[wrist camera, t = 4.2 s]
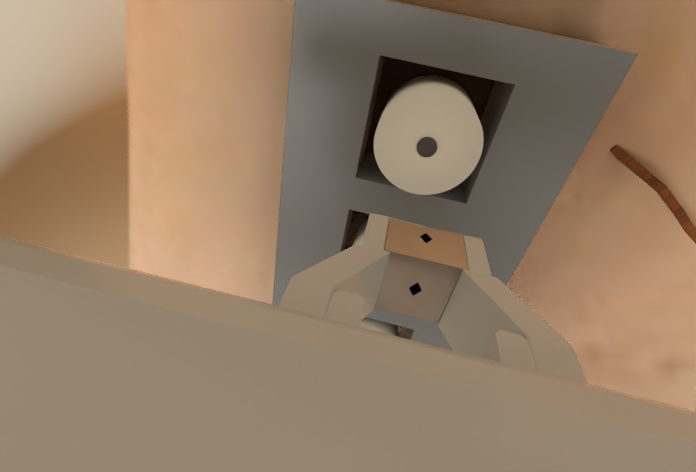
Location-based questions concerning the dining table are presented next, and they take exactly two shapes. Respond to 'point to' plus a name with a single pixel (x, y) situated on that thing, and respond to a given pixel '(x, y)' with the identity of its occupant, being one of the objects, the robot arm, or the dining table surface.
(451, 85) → the button one
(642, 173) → the glasses
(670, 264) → the dining table surface
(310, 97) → the button panel
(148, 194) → the dining table surface
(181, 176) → the dining table surface
